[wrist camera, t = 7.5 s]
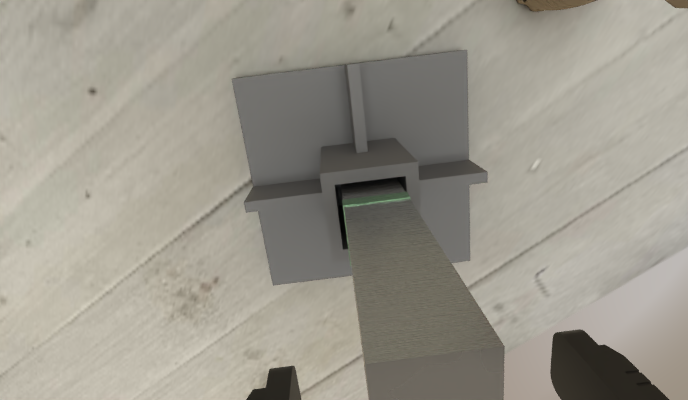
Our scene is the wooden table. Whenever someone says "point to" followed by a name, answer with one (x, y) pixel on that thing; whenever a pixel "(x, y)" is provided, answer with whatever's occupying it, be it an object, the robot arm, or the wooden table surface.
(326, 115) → the stand
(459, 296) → the column
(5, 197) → the wooden table surface
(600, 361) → the robot arm
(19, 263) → the wooden table surface
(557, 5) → the handle
